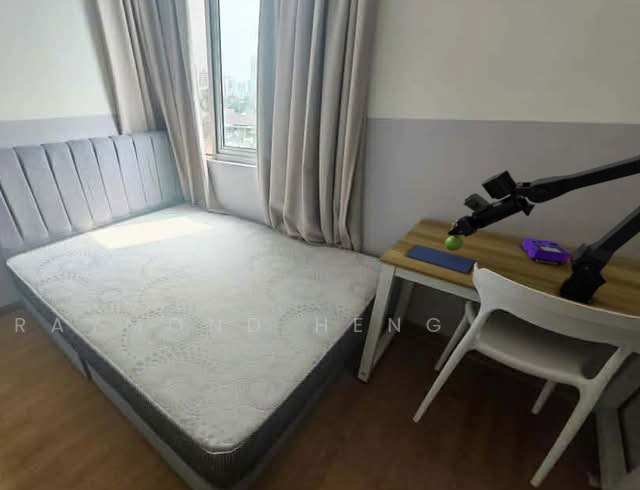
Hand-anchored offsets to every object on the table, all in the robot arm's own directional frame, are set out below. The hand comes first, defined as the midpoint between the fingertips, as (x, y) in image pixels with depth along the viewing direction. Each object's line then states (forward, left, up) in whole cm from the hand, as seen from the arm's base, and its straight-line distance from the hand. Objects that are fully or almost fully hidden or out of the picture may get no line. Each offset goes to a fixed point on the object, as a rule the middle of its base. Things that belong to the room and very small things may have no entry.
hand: (452, 232), depth 110 cm
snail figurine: (-1, 0, -7) cm, 7 cm away
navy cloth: (+1, 0, -11) cm, 11 cm away
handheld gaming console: (-26, -27, -11) cm, 39 cm away
